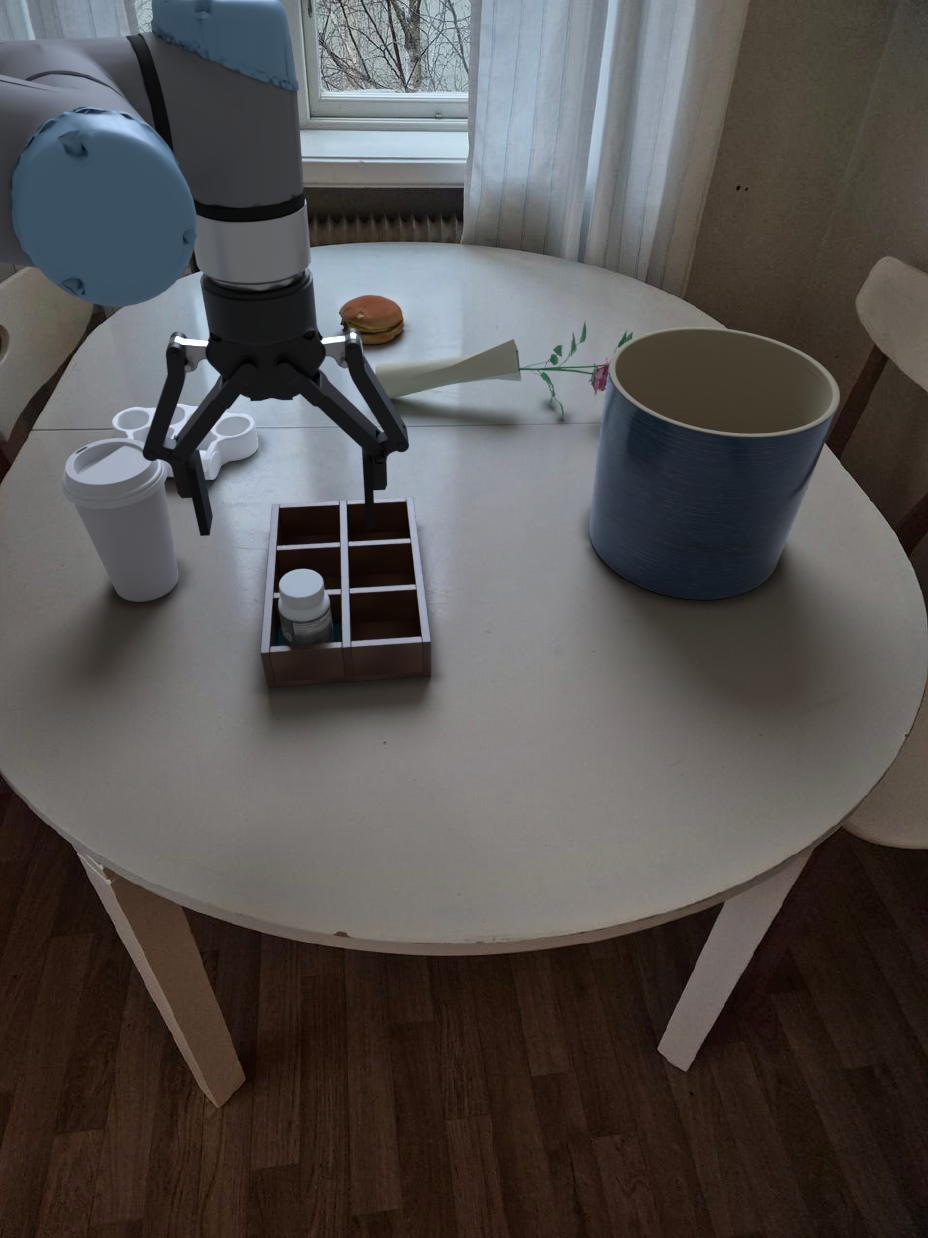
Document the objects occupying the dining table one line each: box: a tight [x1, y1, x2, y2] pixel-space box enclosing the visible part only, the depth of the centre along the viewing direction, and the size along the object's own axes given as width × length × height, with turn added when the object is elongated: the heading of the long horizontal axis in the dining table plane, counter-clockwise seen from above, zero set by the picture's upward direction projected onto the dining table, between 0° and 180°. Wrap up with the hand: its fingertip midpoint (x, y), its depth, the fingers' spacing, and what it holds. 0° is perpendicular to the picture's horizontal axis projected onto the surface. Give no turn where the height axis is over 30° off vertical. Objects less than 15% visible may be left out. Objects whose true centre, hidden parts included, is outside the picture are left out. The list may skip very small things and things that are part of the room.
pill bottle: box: [278, 569, 334, 646], centre depth 80 cm, size 5×5×8 cm
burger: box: [338, 294, 405, 345], centre depth 133 cm, size 10×9×5 cm
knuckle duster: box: [111, 403, 259, 481], centre depth 108 cm, size 3×18×15 cm
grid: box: [259, 496, 432, 688], centre depth 88 cm, size 15×23×5 cm
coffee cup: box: [61, 437, 180, 603], centre depth 86 cm, size 10×10×15 cm
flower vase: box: [374, 321, 634, 421], centre depth 116 cm, size 12×12×35 cm
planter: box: [588, 326, 841, 601], centre depth 91 cm, size 22×22×20 cm
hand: (289, 522), depth 73 cm, fingers open, 13 cm apart
